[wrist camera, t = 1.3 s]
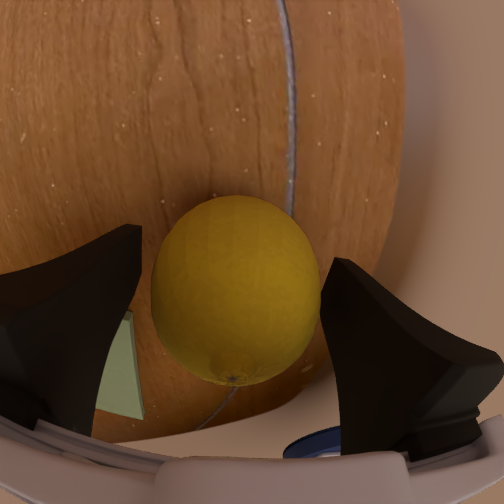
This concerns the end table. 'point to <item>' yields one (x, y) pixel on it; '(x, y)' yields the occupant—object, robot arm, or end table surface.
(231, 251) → the lemon
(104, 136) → the end table surface
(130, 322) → the step shelf
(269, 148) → the end table surface
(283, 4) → the end table surface
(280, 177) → the end table surface
